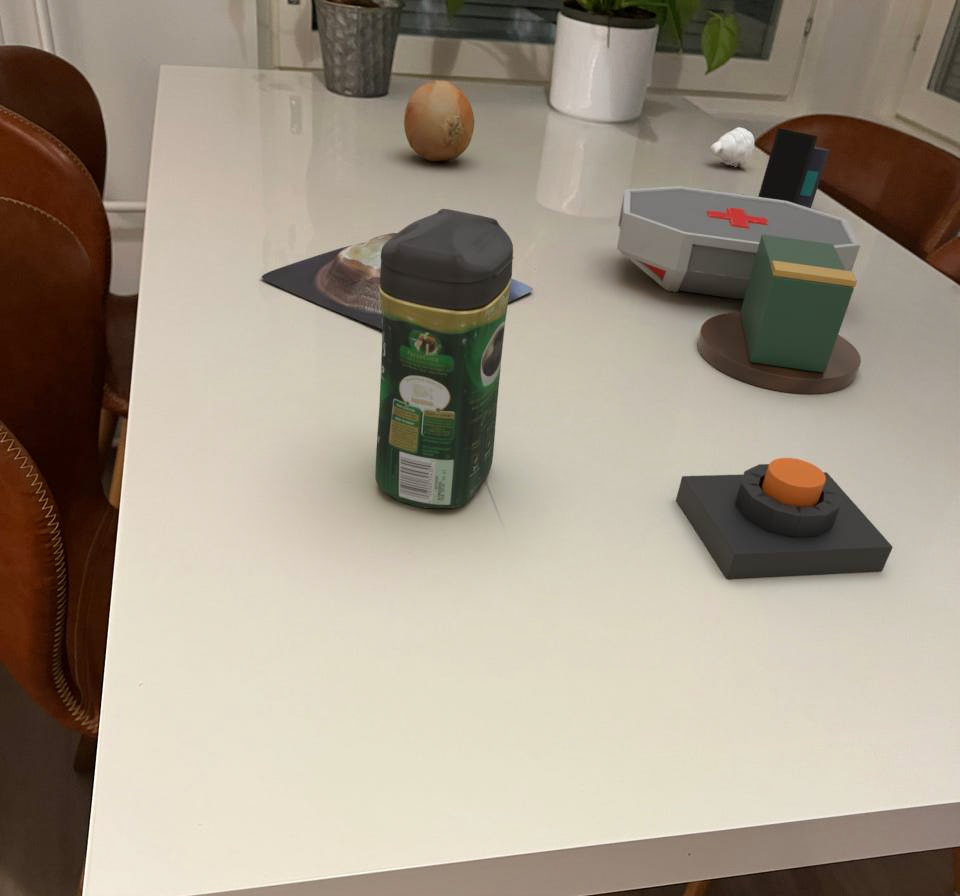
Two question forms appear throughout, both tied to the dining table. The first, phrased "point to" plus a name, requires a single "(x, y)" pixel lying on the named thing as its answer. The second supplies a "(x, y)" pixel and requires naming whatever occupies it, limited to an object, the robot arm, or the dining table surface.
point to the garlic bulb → (735, 147)
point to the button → (793, 482)
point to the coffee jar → (441, 356)
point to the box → (795, 303)
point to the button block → (779, 529)
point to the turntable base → (730, 356)
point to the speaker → (794, 168)
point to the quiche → (348, 280)
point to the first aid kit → (716, 236)
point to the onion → (439, 121)
